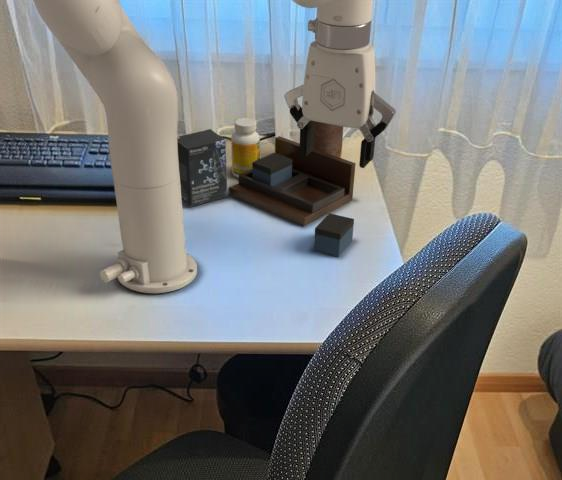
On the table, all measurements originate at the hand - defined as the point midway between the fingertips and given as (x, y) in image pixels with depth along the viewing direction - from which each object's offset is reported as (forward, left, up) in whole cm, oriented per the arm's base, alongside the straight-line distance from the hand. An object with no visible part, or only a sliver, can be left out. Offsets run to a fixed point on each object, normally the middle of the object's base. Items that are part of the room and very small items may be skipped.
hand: (335, 158), depth 117 cm
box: (-3, +28, -14) cm, 31 cm away
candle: (+25, +22, -14) cm, 36 cm away
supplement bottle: (+10, +29, -14) cm, 34 cm away
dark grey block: (+8, +20, -12) cm, 25 cm away
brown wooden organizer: (+8, +16, -14) cm, 22 cm away
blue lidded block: (-1, -1, -14) cm, 14 cm away
